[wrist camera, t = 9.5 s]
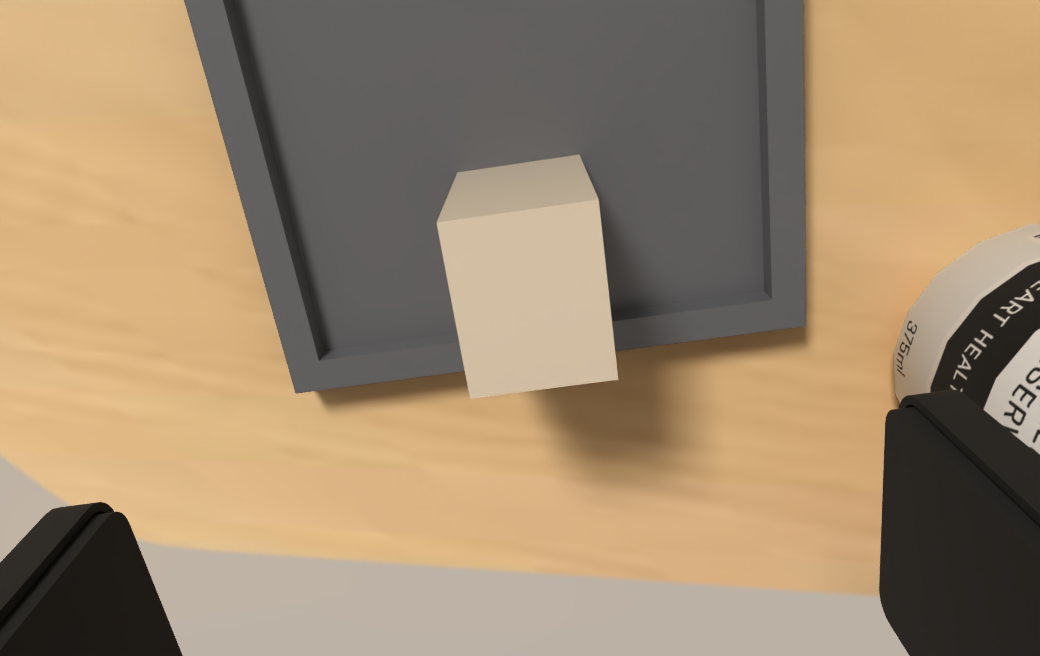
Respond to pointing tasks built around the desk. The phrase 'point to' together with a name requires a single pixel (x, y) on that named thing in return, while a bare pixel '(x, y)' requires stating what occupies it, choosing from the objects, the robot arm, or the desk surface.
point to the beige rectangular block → (528, 277)
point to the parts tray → (509, 159)
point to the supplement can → (981, 332)
